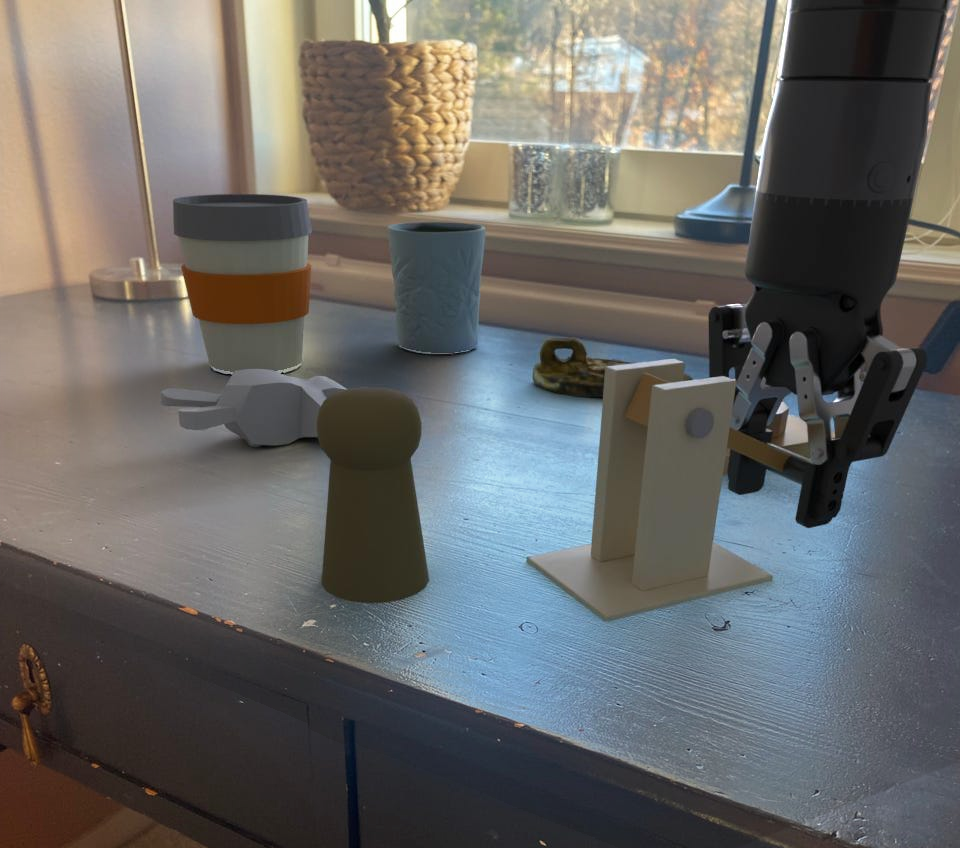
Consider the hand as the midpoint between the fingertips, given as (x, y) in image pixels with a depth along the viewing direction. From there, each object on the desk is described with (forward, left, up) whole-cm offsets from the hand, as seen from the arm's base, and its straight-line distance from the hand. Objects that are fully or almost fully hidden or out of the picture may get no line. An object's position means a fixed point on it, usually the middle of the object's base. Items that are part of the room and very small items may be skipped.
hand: (777, 505), depth 56 cm
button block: (-5, -18, -3) cm, 19 cm away
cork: (+24, +2, -3) cm, 24 cm away
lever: (+5, +2, +4) cm, 7 cm away
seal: (-1, -38, -3) cm, 38 cm away
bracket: (+9, +3, -3) cm, 10 cm away
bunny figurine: (+30, -26, -3) cm, 40 cm away
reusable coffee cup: (+32, -50, -3) cm, 59 cm away
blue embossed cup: (+13, -57, -3) cm, 59 cm away
